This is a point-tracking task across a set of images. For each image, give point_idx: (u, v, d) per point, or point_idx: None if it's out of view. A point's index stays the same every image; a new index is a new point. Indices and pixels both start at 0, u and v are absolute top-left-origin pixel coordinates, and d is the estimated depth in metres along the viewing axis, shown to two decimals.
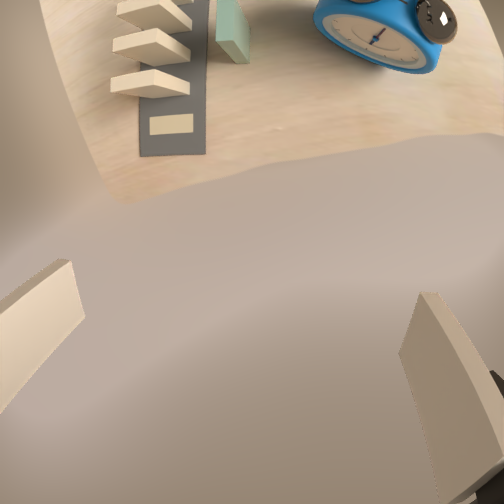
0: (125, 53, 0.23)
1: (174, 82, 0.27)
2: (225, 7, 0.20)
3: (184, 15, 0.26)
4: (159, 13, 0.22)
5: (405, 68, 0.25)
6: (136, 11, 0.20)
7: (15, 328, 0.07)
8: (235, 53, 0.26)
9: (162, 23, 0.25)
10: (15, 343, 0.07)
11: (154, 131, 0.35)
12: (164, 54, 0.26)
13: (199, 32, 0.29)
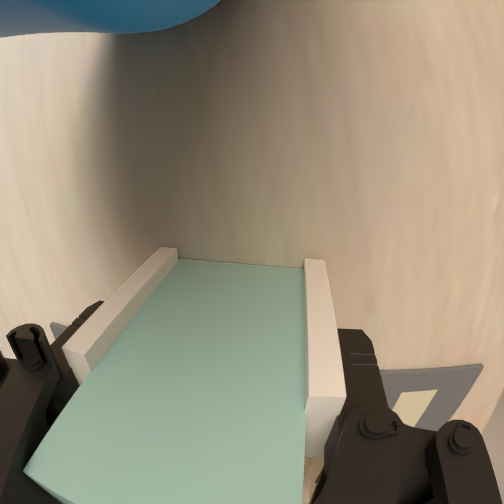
0: None
1: None
2: None
3: None
4: None
5: None
6: None
7: None
8: None
9: None
10: None
11: None
12: None
13: None
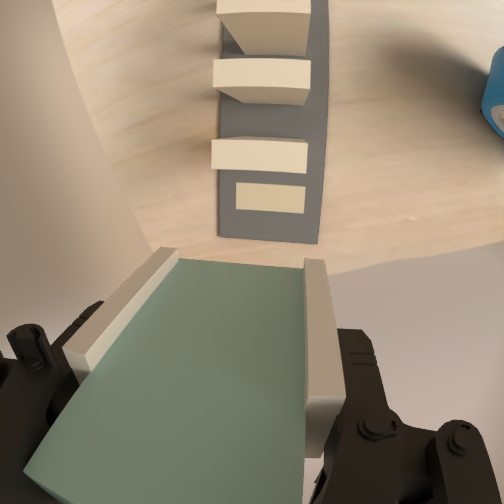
0: (231, 90, 0.15)
1: None
2: None
3: None
4: (290, 26, 0.14)
5: None
6: (258, 15, 0.12)
7: None
8: None
9: (276, 40, 0.17)
10: None
11: (243, 204, 0.26)
12: (286, 98, 0.18)
13: (316, 61, 0.21)
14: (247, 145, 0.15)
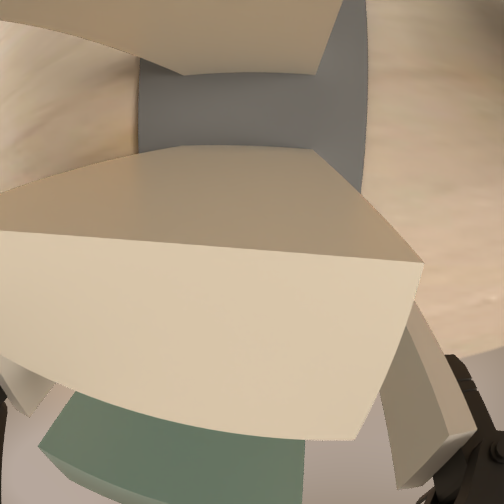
0: (33, 3, 0.02)
1: None
2: (102, 489, 0.04)
3: None
4: None
5: None
6: None
7: None
8: None
9: None
10: None
11: None
12: (268, 29, 0.05)
13: None
14: None
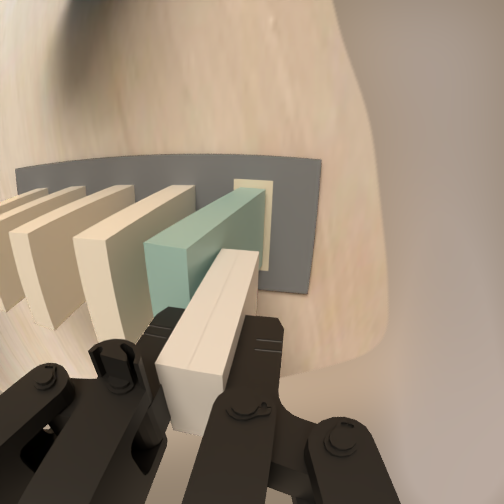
0: (67, 303, 0.13)
1: (146, 203, 0.14)
2: None
3: (49, 195, 0.17)
4: None
5: None
6: (0, 274, 0.12)
7: None
8: (220, 207, 0.13)
9: None
10: None
11: (262, 261, 0.20)
12: None
13: (88, 172, 0.19)
14: (93, 309, 0.11)
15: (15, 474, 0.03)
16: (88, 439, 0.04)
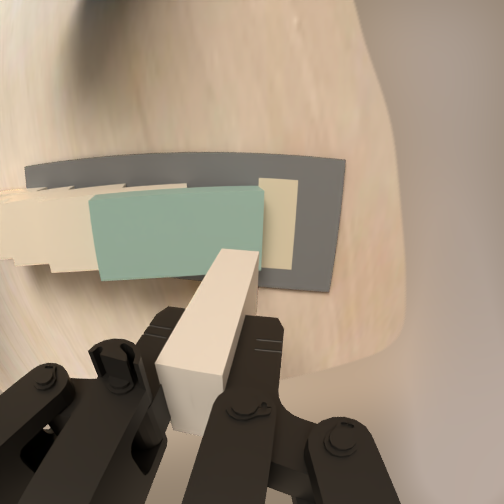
0: (26, 256, 0.18)
1: (109, 190, 0.17)
2: None
3: (42, 190, 0.19)
4: None
5: None
6: None
7: None
8: (173, 190, 0.16)
9: None
10: None
11: (285, 260, 0.20)
12: None
13: (104, 170, 0.19)
14: None
15: (15, 474, 0.03)
16: (88, 439, 0.04)
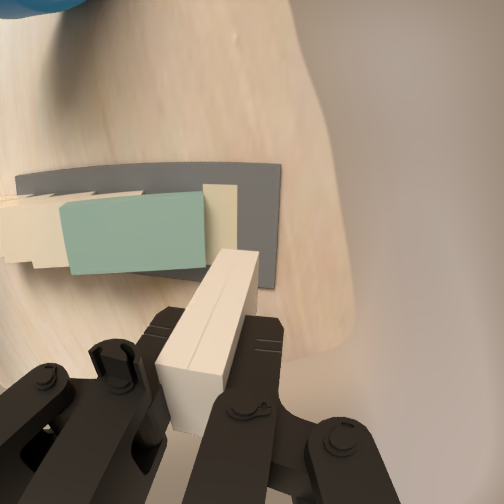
0: (15, 254, 0.20)
1: (79, 198, 0.19)
2: None
3: (28, 197, 0.21)
4: None
5: None
6: None
7: None
8: (127, 197, 0.18)
9: None
10: None
11: None
12: None
13: (78, 180, 0.21)
14: None
15: (15, 474, 0.03)
16: (88, 439, 0.04)
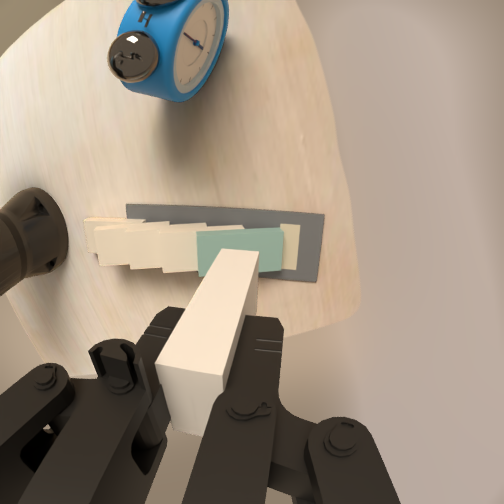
0: (141, 263, 0.36)
1: (201, 228, 0.35)
2: None
3: (147, 223, 0.37)
4: (112, 237, 0.35)
5: (224, 15, 0.24)
6: (100, 250, 0.35)
7: None
8: (239, 231, 0.34)
9: None
10: None
11: (293, 265, 0.38)
12: None
13: (191, 214, 0.37)
14: None
15: (15, 474, 0.03)
16: (88, 439, 0.04)
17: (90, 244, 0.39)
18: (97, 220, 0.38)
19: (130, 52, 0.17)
